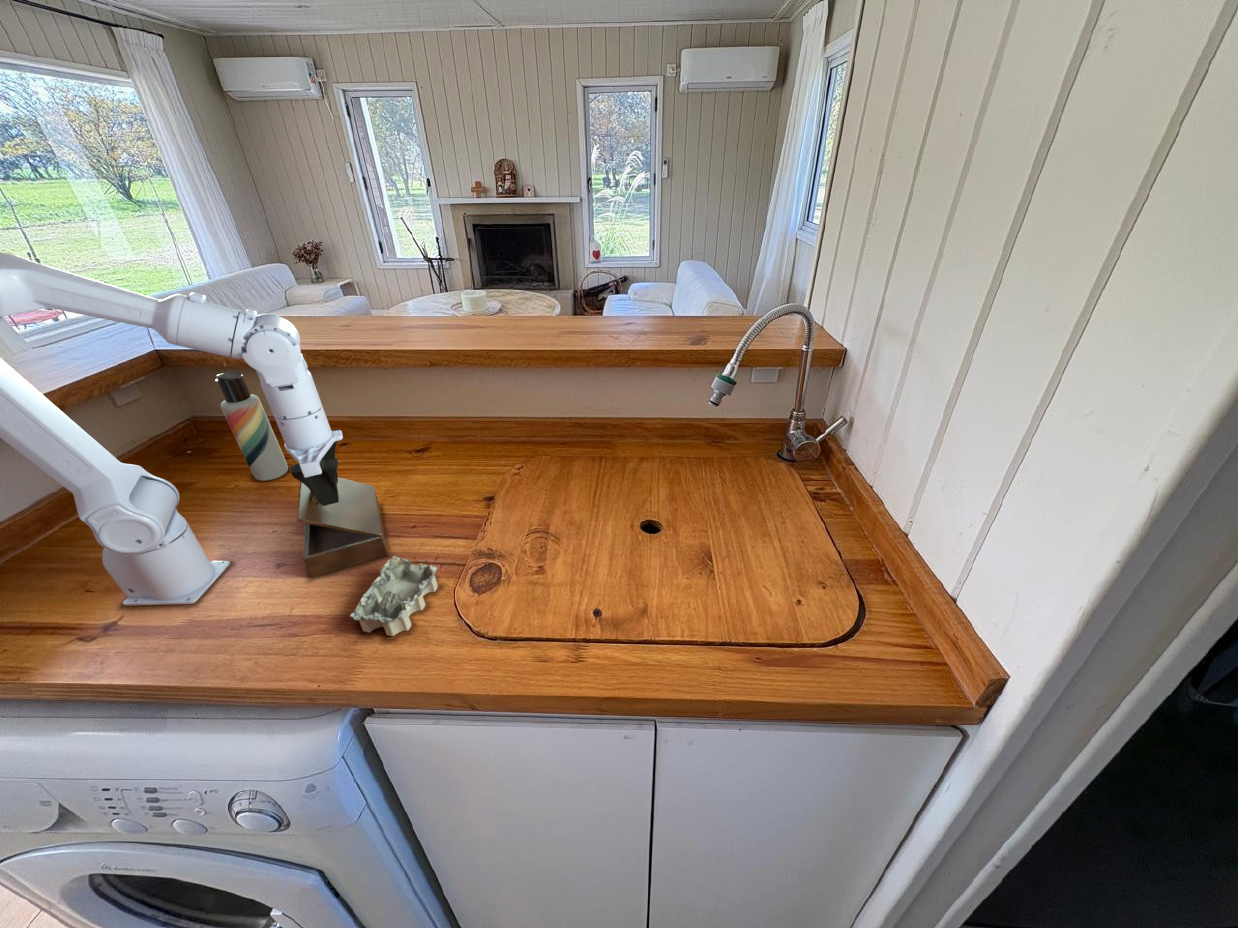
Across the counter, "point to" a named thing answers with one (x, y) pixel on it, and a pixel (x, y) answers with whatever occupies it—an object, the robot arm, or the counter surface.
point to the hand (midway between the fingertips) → (330, 493)
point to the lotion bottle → (251, 428)
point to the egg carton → (395, 596)
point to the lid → (342, 509)
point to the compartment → (340, 548)
